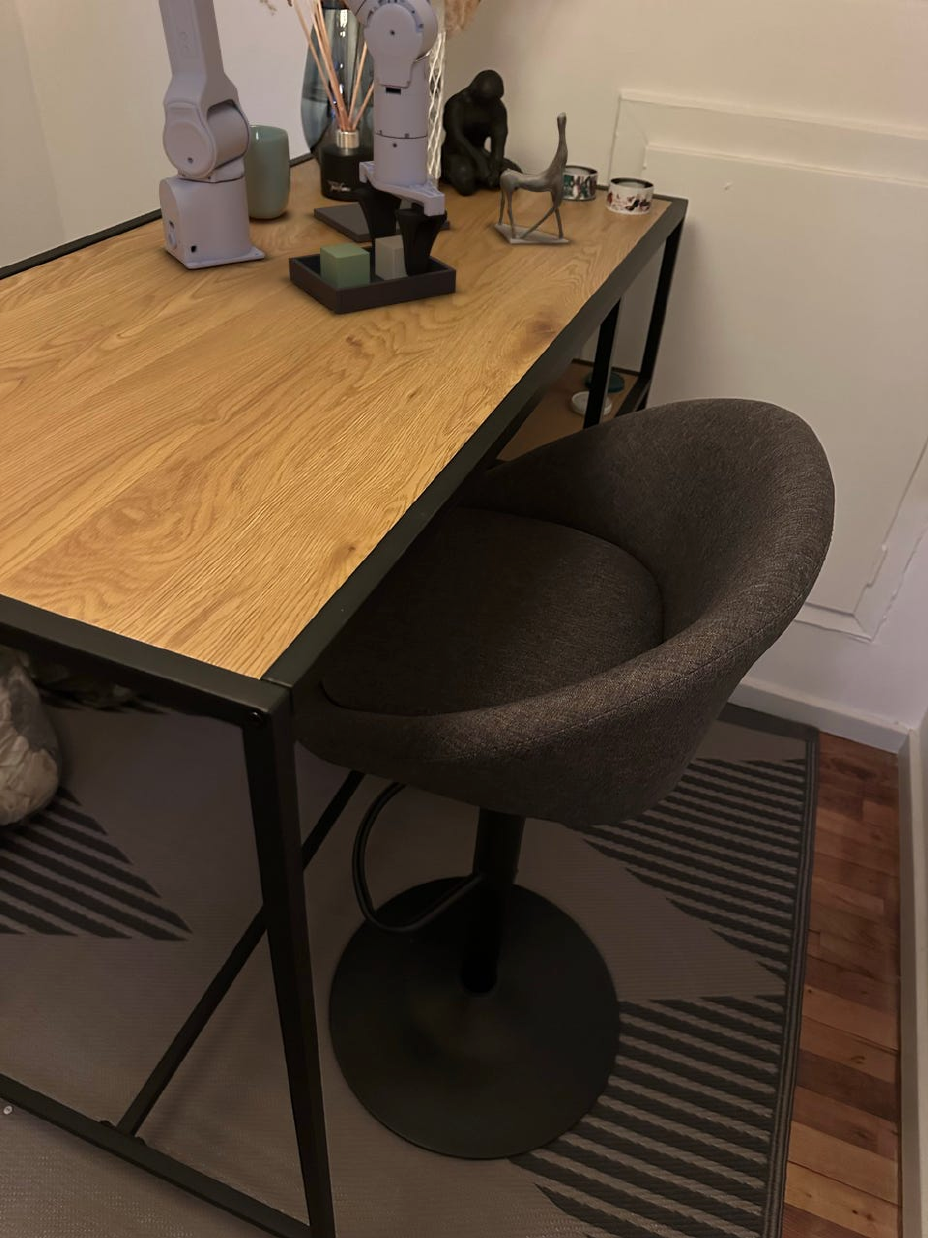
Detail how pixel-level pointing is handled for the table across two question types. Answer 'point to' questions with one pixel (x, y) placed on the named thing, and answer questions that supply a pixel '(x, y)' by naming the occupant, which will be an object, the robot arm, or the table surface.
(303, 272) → the tray
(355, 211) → the board
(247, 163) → the cup
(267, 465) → the table surface
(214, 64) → the robot arm
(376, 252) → the cream block
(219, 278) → the table surface
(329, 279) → the sage block
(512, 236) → the figurine
